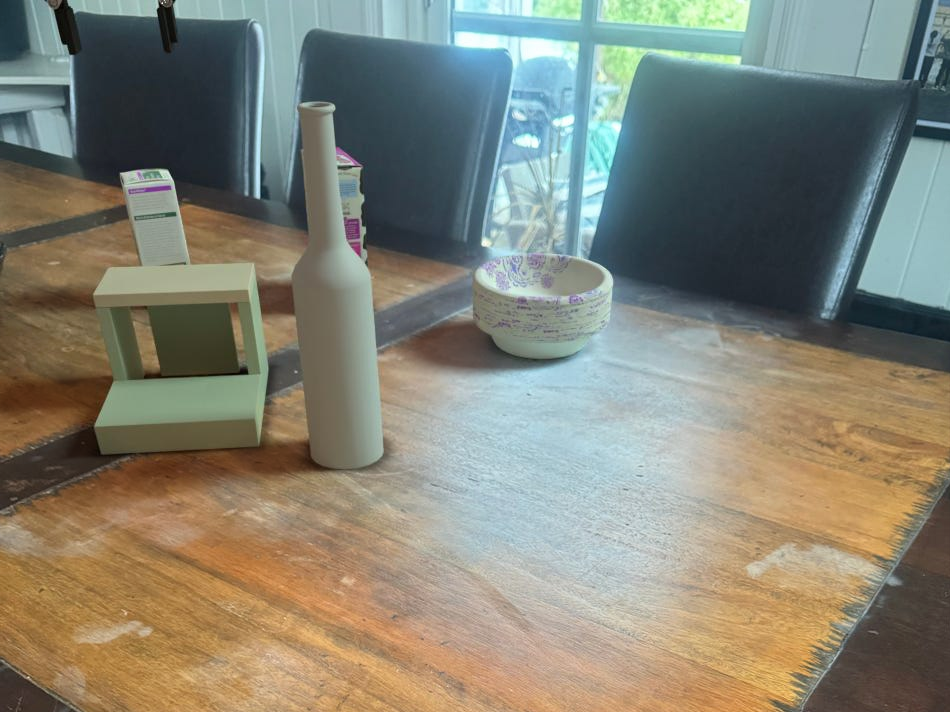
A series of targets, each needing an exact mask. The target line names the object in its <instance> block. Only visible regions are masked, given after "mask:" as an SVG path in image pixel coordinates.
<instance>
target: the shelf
mask: <svg viewBox="0 0 950 712" xmlns="http://www.w3.org/2000/svg"><path fill="white" fill-rule="evenodd" d="M256 276H257V275H256V268H255V263H254V262H237V263H236V262H234V263H206V264H205V263H203V264H199V263H198V264H190V265H169V266H140V265H138V266H111V267H107V269H106V271H105V273H104V275H103V276H102V278H101V280H100V281H99V283H98V284H97V287H96V288H95V290H94V292H93V293H92V298H93V302H94V303H93V304H94V306H95V310H96V314H97V319H98V322H99V326H100V331H101V334H102V339H103V343H104V346H105V350H106V355H107V360H108V363H109V366H110V371H111V375H112V379H113V382H112V384H111V386H110V389H109V391H108V393H107V396H106V398H105V400H104V402H103V405H102V407H101V410H100V412H99V414H98V416H97V418H96V421H95V423H94V425H93V429H94V433H95V436H96V440H97V443H98V448H99V451H100V455H117V454H120V455H121V454H137V453H139V454H140V453H157V452H176V451H194V450H196V451H197V450H214V449H216V450H217V449H234V448H254V447H255V448H256V447H260V444H261V443H260V442H261V434H262V426H263V419H264V418H263V417H264V409H265V403H266V402H265V401H266V393H267V384H268V377H269V369H270V368H269V362H268V361H269V360H268V354H267V346H266V340H265V332H264V326H263V318H262V312H261V311H262V310H261V303H260V298H259V289H258V284H257V283H258V282H257V277H256ZM231 303H237V309H238V315H239V322H240V329H241V334H242V341H243V347H244V348H243V349H244V354H245V361H246V369H247V373H248V374H240V372H241V369H240V368H241V367H240V361H239V356H238V349H237V343H236V337H235V330H234V324H233V318H232V312H231V305H230V304H231ZM131 307H146V310H147V315H148V319H149V323H150V328H151V333H152V338H153V342H154V346H155V347H154V348H155V352H156V357H157V360H158V365H159V369H160V371H159V372H160V374H161V377H165V378H144V377H145V375H146V373H145V368H144V363H143V361H142V360H143V359H142V355H141V352H140V351H141V350H140V346H139V343H138V337H137V334H136V329H135V324H134V321H133V316H132V311H131ZM217 374H218V375H217ZM219 374H220V375H219ZM221 374H233V375H221ZM194 375H195V376H194ZM196 375H211V376H196ZM213 375H214V376H213ZM173 376H188V377H173ZM189 376H190V377H189ZM166 377H167V378H166Z"/></svg>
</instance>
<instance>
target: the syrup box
mask: <svg viewBox="0 0 950 712" xmlns="http://www.w3.org/2000/svg"><path fill="white" fill-rule="evenodd" d="M119 178H120V183H121V187H122V192H123V193H122V194H123V198H124V201H125V206H126V210H127V211H126V212H127V215H128V216H127V217H128V221H129V224H130V228H131V233H132V237H133V242H134V247H135V250H136V251H135V252H136V256H137V259H138V264H139V266H169V265H191V260H190V256H189V255H190V254H189V250H188V245H187V239H186V235H185V230H184V226H183V221H182V216H181V212H180V207H179V202H178V197H177V191H176V186H175V181H174V179H173V177H172V176H171V173H170V172H169V170H168V169H167V168H143V169H135V170H129V171H124V172H119Z"/></svg>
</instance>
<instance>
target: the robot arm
mask: <svg viewBox="0 0 950 712" xmlns="http://www.w3.org/2000/svg"><path fill="white" fill-rule="evenodd" d="M176 1H177V0H157V3H158V7H157V8H156V16H157V20H158V27H159V32H160V38H161V42H162V47H163V52H164V53H166V54H172V53H174V51H176V45H175V44H179V43H180V37H179V36H180V35H179V31H178V26H177V25H178V24H177V20H176V14H175V7H174V4H175V3H176ZM44 2H46V4H47V5H48V7H49V8H51V9H52V10H53V14H54V18H55V22H56V26H57V31H58V35H59V40H60V42H61V45H62V46H66V47H67V53H68V54H69V56H76V55H78V54H80V53H81V51H83V47H82V42H81V37H80V33H79V29H78V25H77V20H76V16H75V12H74V9H73V7H72V6H71V5H69V2H68V0H44Z"/></svg>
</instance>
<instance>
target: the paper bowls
mask: <svg viewBox="0 0 950 712" xmlns="http://www.w3.org/2000/svg"><path fill="white" fill-rule="evenodd" d="M613 287H614V278H613V275H612V274H611V272H610V271H609V270H608V269H607V268H605V267H604V266H603V265H601V264H599V263H597V262H594V261H592V260H589V259H586V258H582V257H578V256H574V255H568V254H562V253H561V254H560V253H550V252H549V253H547V252H532V253H531V252H529V253H518V254H510V255H504V256H500V257H495V258H493V259H490V260H488V261H485V262H483V263H482V264H480V265H479V266H478V267H477V268H476V269H475V271H474V273H473V275H472V319H473V322H474V324H475V325H476V327H477V328H479V330H481V331H482V332H484V333H486V334H487V335H490V336H491V339H492V340H493V342H494V343H495V345H496V346H497V348H499V349H500V350H501V351H503V352H505V353H507V354H509V355H512V356H515V357H519V358H523V359H532V360H552V359H560V358H566V357H569V356H571V355H574V354H576V353H578V352H579V351H580V350H581V349H583V348H584V347H585V346H586V344H587V343H588V341H589V340H590V338H591V337H594V336H596V335H597V334H599V333H601V332H603V331H604V330H605V329H606V328H607V327H608V326H609V323H610V320H611V311H612V302H613V301H612V300H613Z"/></svg>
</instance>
